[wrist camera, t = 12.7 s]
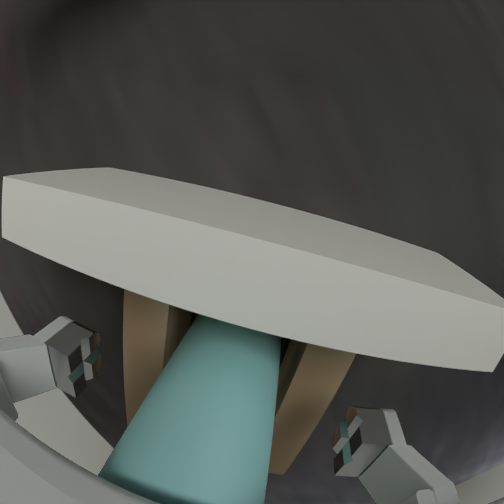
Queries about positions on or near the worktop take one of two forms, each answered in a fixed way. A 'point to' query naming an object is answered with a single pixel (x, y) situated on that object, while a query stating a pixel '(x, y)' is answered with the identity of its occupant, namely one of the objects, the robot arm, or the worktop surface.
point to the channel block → (289, 380)
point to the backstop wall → (258, 265)
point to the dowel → (204, 421)
